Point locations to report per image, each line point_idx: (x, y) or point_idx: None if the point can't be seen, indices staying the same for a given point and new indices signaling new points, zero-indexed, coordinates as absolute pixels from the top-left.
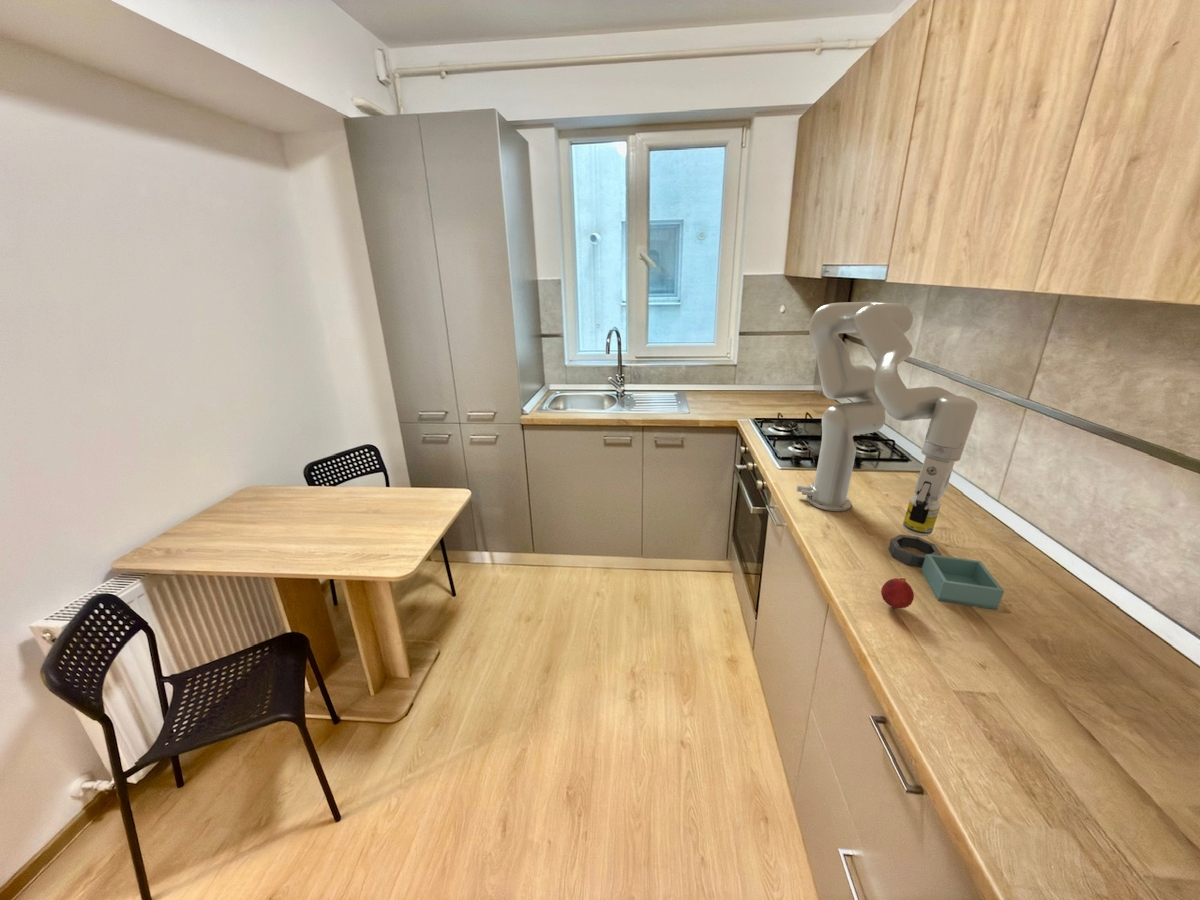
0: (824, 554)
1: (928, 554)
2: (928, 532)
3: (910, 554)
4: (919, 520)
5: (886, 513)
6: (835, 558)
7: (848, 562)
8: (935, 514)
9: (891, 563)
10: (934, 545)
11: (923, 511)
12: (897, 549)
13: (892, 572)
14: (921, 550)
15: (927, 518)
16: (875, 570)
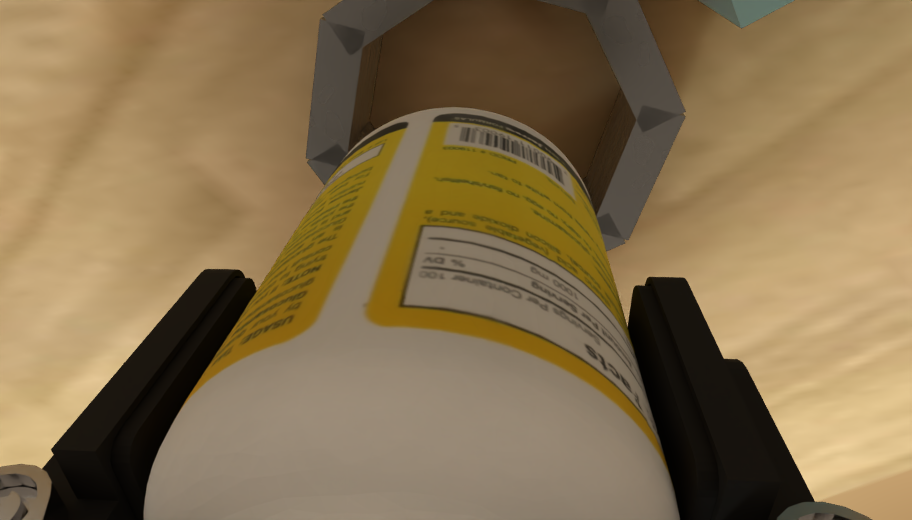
0: (829, 458)
1: (747, 6)
2: (534, 141)
3: (669, 131)
4: (738, 362)
5: (73, 354)
6: (843, 415)
7: (851, 362)
8: (521, 275)
9: (702, 184)
10: (343, 16)
11: (811, 501)
12: (634, 222)
13: (833, 148)
14: (373, 77)
15: (614, 304)
16: (868, 234)
